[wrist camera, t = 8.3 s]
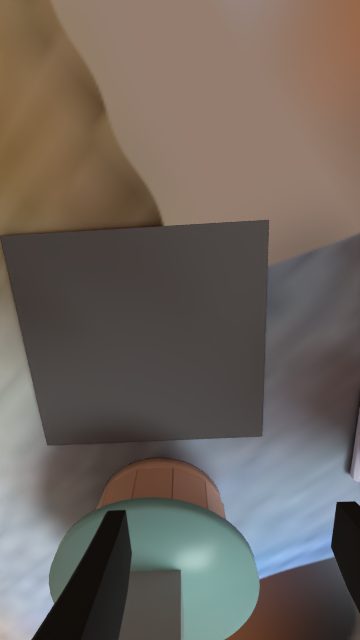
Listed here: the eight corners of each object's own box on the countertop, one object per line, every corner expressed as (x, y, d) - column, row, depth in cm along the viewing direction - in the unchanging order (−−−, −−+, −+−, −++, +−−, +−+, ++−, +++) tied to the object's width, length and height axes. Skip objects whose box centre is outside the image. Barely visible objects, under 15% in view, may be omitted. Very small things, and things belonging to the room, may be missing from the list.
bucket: (220, 455, 21) (232, 518, 16) (222, 549, 24) (232, 627, 19) (92, 460, 21) (67, 523, 16) (109, 553, 24) (90, 631, 19)
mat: (266, 220, 16) (269, 219, 16) (260, 431, 20) (262, 436, 20) (5, 236, 17) (-1, 235, 16) (50, 440, 21) (47, 445, 20)
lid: (258, 493, 16) (290, 597, 11) (253, 637, 19) (276, 762, 15) (37, 500, 16) (-22, 605, 11) (72, 642, 20) (38, 765, 15)
